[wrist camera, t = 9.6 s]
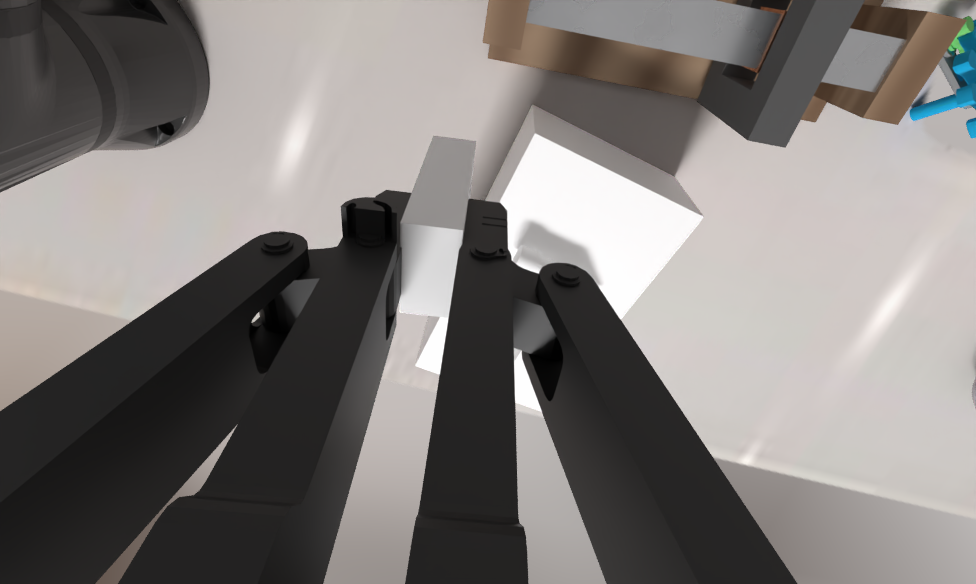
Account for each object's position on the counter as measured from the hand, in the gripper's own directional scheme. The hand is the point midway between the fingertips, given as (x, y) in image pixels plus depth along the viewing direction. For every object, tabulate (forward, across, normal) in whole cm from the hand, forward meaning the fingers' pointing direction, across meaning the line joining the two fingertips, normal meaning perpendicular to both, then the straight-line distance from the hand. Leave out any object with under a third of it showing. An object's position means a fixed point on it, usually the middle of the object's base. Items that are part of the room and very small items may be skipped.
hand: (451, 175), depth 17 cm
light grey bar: (+19, +14, +4) cm, 24 cm away
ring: (+23, +19, +4) cm, 30 cm away
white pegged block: (+25, +8, -17) cm, 32 cm away
